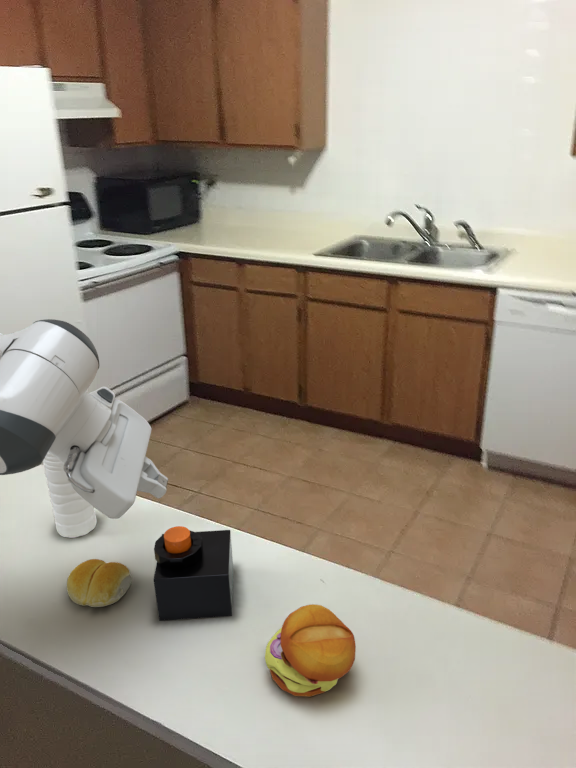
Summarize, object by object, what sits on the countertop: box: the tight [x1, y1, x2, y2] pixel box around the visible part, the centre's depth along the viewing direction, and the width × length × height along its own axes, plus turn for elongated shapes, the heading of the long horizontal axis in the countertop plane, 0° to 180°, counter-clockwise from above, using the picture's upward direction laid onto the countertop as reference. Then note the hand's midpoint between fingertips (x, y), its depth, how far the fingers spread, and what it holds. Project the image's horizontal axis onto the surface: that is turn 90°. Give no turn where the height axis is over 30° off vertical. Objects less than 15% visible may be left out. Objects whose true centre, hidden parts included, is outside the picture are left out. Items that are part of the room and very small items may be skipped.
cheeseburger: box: [264, 603, 357, 698], centre depth 81 cm, size 10×11×10 cm
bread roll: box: [66, 558, 133, 608], centre depth 97 cm, size 8×9×4 cm
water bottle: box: [42, 388, 98, 539], centre depth 108 cm, size 9×6×25 cm
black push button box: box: [152, 529, 234, 622], centre depth 94 cm, size 10×10×9 cm
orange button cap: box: [163, 525, 191, 553], centre depth 92 cm, size 4×4×2 cm
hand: (164, 489), depth 90 cm, fingers closed
